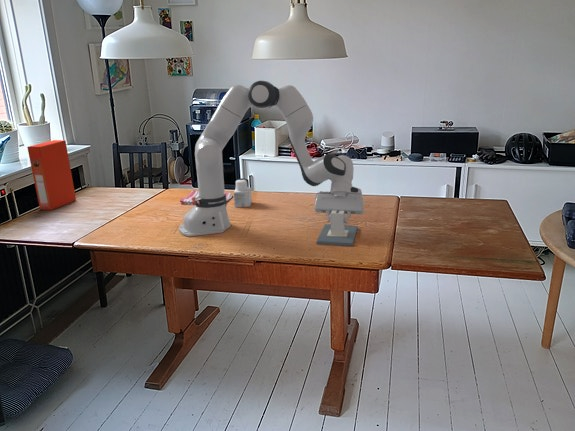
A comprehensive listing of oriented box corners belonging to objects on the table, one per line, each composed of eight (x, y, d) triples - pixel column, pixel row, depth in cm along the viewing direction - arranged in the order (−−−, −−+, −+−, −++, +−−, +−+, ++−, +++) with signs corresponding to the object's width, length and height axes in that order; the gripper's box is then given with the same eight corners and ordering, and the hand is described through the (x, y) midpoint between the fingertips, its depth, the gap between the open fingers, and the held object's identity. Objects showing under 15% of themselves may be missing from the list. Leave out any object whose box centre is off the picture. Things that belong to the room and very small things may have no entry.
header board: (324, 226, 219) (324, 218, 218) (357, 228, 216) (357, 220, 214) (316, 243, 200) (316, 235, 199) (352, 246, 197) (352, 237, 196)
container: (236, 202, 257) (235, 177, 252) (251, 202, 256) (250, 177, 252) (234, 207, 249) (232, 181, 245) (250, 206, 249) (248, 181, 245)
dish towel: (192, 195, 273) (191, 189, 271) (233, 197, 268) (233, 190, 267) (179, 205, 257) (178, 198, 256) (223, 206, 252) (222, 200, 251)
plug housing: (332, 230, 210) (332, 209, 207) (344, 231, 209) (344, 210, 206) (330, 234, 206) (330, 213, 203) (343, 234, 205) (343, 213, 202)
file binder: (39, 209, 256) (27, 146, 246) (63, 199, 272) (53, 140, 261) (52, 210, 254) (40, 147, 243) (76, 200, 269) (65, 140, 259)
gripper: (315, 187, 211) (311, 217, 205) (364, 189, 206) (362, 220, 200) (317, 195, 216) (313, 224, 211) (365, 196, 212) (362, 226, 206)
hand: (337, 222), depth 205 cm, fingers closed on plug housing, 5 cm apart
